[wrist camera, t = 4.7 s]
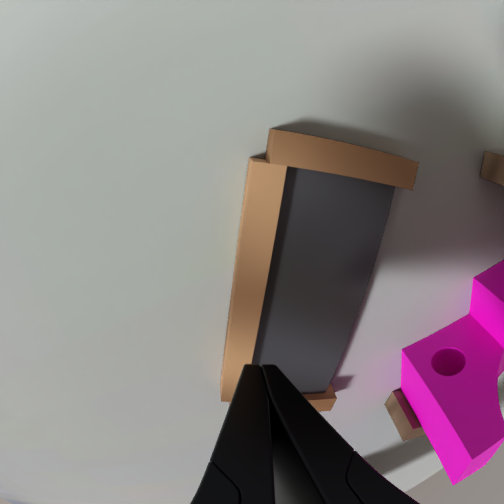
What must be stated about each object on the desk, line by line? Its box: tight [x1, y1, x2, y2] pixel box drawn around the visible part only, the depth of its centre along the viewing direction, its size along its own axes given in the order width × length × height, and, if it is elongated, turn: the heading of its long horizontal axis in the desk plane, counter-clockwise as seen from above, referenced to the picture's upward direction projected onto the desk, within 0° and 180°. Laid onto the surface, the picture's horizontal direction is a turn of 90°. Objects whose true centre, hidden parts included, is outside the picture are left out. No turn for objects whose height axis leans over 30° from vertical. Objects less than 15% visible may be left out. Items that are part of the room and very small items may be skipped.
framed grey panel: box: [220, 129, 504, 441], centre depth 12 cm, size 18×27×4 cm, turn 82°
